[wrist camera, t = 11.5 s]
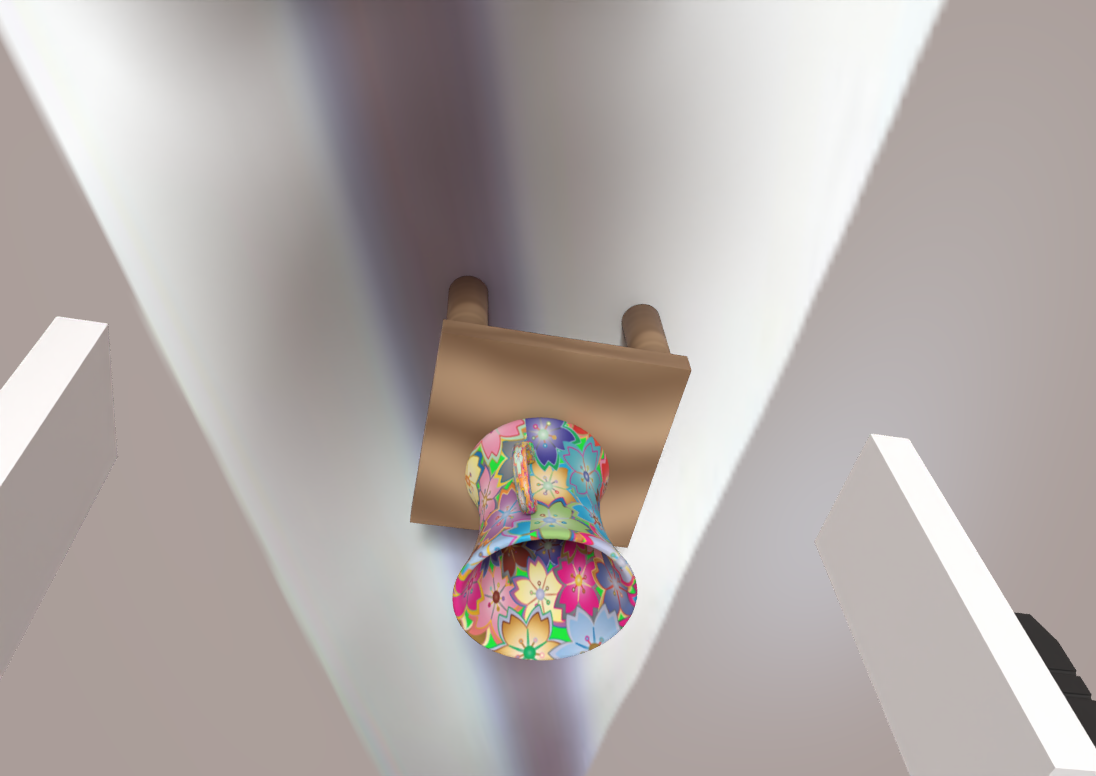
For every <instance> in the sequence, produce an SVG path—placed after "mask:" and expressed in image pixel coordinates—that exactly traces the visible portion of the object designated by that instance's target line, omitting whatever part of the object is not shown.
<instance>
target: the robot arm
mask: <svg viewBox="0 0 1096 776" xmlns="http://www.w3.org/2000/svg"><path fill="white" fill-rule="evenodd" d="M116 459H117V441H116V427H115V413H114V400H113V385H112V373H111V358H110V343H109V329H108V324H106V323H99V322H92V321H86V320H79V319H72V318H65V317H56V318H55V319H54V321H53V322H52V323H51V325H50V326H49V327H48V329H47V330H46V331H45V332H44V334H43V335H42V336H41V338H40V339H39V340H38V342H37V343H36V344H35V346H34V347H33V348H32V349H31V351H30V352H29V353H28V355H27V356H26V358H25V359H24V360H23V361H22V363H21V364H20V365H19V367H18V368H17V369H16V371H15V372H14V373H13V374H12V376H11V377H10V378H9V380H8V381H7V382H6V384H5V385H4V386H3V388H2V389H1V390H0V680H1V678H2V676H3V674H4V672H5V670H6V668H7V666H8V665H9V663H10V661H11V659H12V657H13V655H14V653H15V651H16V649H17V647H18V646H19V644H20V642H21V640H22V638H23V636H24V634H25V632H26V630H27V628H28V626H29V625H30V623H31V621H32V619H33V617H34V615H35V613H36V611H37V609H38V607H39V606H40V604H41V602H42V599H43V598H44V596H45V594H46V592H47V590H48V588H49V586H50V585H51V583H52V581H53V579H54V577H55V575H56V573H57V571H58V569H59V567H60V566H61V564H62V562H63V560H64V558H65V556H66V554H67V552H68V550H69V548H70V546H71V544H72V543H73V541H74V539H75V537H76V535H77V533H78V531H79V529H80V527H81V526H82V523H83V522H84V520H85V518H86V516H87V514H88V512H89V510H90V508H91V506H92V504H93V503H94V500H95V499H96V496H97V495H98V493H99V491H100V489H101V487H102V485H103V483H104V482H105V480H106V478H107V476H108V474H109V472H110V470H111V468H112V466H113V465H114V463H115V461H116ZM815 544H816V547H817V550H818V552H819V554H820V557H821V559H822V562H823V564H824V567H825V569H826V572H827V574H828V577H829V579H830V581H831V584H832V586H833V588H834V591H835V594H836V596H837V599H838V601H839V604H840V606H841V608H842V611H843V613H844V616H845V618H846V620H847V623H848V626H849V628H850V631H851V633H852V635H853V638H854V640H855V643H856V645H857V648H858V650H859V653H860V655H861V658H862V660H863V662H864V665H865V667H866V670H867V672H868V675H869V677H870V679H871V682H872V684H873V687H874V689H875V692H876V694H877V697H878V699H879V702H880V704H881V707H882V709H883V712H884V714H885V716H886V719H887V721H888V724H889V726H890V728H891V731H892V734H893V736H894V738H895V741H896V743H897V746H898V748H899V751H900V753H901V756H902V758H903V760H904V763H905V766H906V768H907V770H908V773H909V775H910V776H1096V701H1094V700H1091V693H1090V692H1089V690H1088V688H1087V687H1086V685H1085V684H1084V682H1083V680H1082V679H1081V677H1079V676H1076V669H1075V668H1074V667H1073V665H1072V663H1071V662H1070V660H1069V658H1068V657H1067V655H1066V654H1065V652H1064V650H1063V649H1062V647H1061V646H1060V644H1059V643H1058V641H1057V640H1056V639H1055V638H1054V637H1053V636H1052V635H1051V634H1050V633H1049V632H1048V631H1046V629H1045V628H1043V627H1042V626H1041V625H1040V624H1039V623H1038V622H1037V621H1036V620H1035V619H1034V618H1033V617H1032V616H1031V615H1030V614H1022V613H1014V612H1013V611H1012V609H1011V607H1010V606H1009V604H1008V602H1007V601H1006V599H1005V597H1004V596H1003V594H1002V593H1001V591H1000V589H999V587H998V586H997V584H996V582H995V581H994V579H993V577H992V576H991V574H990V573H989V571H988V569H987V568H986V566H985V564H984V563H983V561H982V559H981V558H980V556H979V554H978V553H977V551H976V550H975V548H974V546H973V544H972V543H971V541H970V539H969V538H968V536H967V535H966V533H965V531H964V529H963V528H962V526H961V524H960V523H959V521H958V520H957V518H956V516H955V515H954V513H953V511H952V510H951V508H950V506H949V505H948V503H947V501H946V500H945V498H944V496H943V495H942V493H941V491H940V490H939V488H938V487H937V485H936V483H935V482H934V480H933V478H932V477H931V475H930V473H929V472H928V470H927V468H926V467H925V465H924V463H923V462H922V460H921V458H920V457H919V455H918V453H917V452H916V450H915V449H914V447H913V445H912V443H911V442H910V440H909V439H905V438H898V437H891V436H883V435H877V434H870V435H869V437H868V439H867V441H866V443H865V445H864V447H863V449H862V451H861V453H860V454H859V456H858V458H857V461H856V462H855V464H854V466H853V468H852V470H851V472H850V474H849V476H848V478H847V480H846V482H845V483H844V486H843V487H842V489H841V491H840V493H839V495H838V497H837V499H836V501H835V503H834V505H833V507H832V509H831V511H830V512H829V514H828V517H827V518H826V520H825V522H824V524H823V526H822V528H821V530H820V532H819V534H818V536H817V538H816V540H815Z"/></svg>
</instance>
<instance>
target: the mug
mask: <svg viewBox="0 0 1096 776" xmlns="http://www.w3.org/2000/svg"><path fill="white" fill-rule="evenodd" d="M608 480H609V464H608V460H607V457H606V454H605V452H604V450H603V449H602V447H601V446H600V444H599V443H598V442H597V440H596V439H595V438H594V437H593V436H592V435H590V434H589V433H588V432H587V431H585V430H583V429H582V428H580V427H578V426H576V425H574V424H572V423H569V422H566V421H563V420H558V419H554V418H543V417H536V418H525V419H520V420H516V421H513V422H510V423H507V424H504V425H502V426H500V427H498V428H496V429H495V430H493V431H491V432H490V433H489V434H487V435H486V436H485V437H484V438H483V439H481V441H480V442H479V443H478V444H477V445H476V446H475V448H474V449H473V451H472V453H471V454H470V457H469V459H468V462H467V465H466V470H465V483H466V487H467V490H468V493H469V495H470V497H471V499H472V501H473V502H474V504H475V505H476V506H477V508H478V511H479V517H480V527H479V534H478V538H477V542H476V545H475V547H474V550H473V552H472V554H471V556H470V558H469V559H468V561H467V562H466V564H465V565H464V567H463V568H462V570H461V571H460V573H459V575H458V577H457V579H456V582H455V585H454V589H453V608H454V612H455V615H456V617H457V620H458V621H459V623H460V625H461V626H462V628H463V629H464V630H465V632H466V633H467V634H468V635H469V636H470V637H471V638H473V639H474V640H475V641H476V642H478V643H479V644H481V645H482V646H484V647H486V648H488V649H490V650H492V651H494V652H497V653H500V654H502V655H506V656H509V657H514V658H519V659H526V660H554V659H561V658H567V657H571V656H575V655H578V654H581V653H584V652H587V651H589V650H592V649H594V648H596V647H598V646H600V645H601V644H603V643H605V642H606V641H608V640H609V639H611V638H612V637H613V636H614V635H616V634H617V633H618V632H619V631H620V630H621V629H622V628H623V627H624V625H625V624H626V623H627V621H628V620H629V618H630V617H631V615H632V613H633V610H634V607H635V604H636V600H637V584H636V580H635V576H634V574H633V571H632V569H631V568H630V566H629V564H628V563H627V562H626V560H625V559H624V558H623V557H622V556H621V554H620V553H619V552H618V551H617V550H616V549H615V547H614V546H613V545H612V543H611V542H610V540H609V538H608V536H607V534H606V532H605V530H604V527H603V524H602V521H601V516H600V500H601V498H602V496H603V495H604V493H605V490H606V488H607V484H608Z"/></svg>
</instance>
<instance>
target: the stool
mask: <svg viewBox="0 0 1096 776" xmlns="http://www.w3.org/2000/svg"><path fill="white" fill-rule="evenodd" d="M622 326H623V331H624V335H625V339H626V344H627V347H622V346H616V345H609V344H603V343H596V342H589V341H583V340H576V339H570V338H563V337H557V336H550V335H544V334H537V333H531V332H524V331H518V330H511V329H505V328H498V327H492V326H488V290H487V287H486V285H485V284H484V283H483V282H482V281H481V280H480V279H478V278H476V277H473V276H463V277H460V278H458V279H456V280H455V281H454V282H453V283H452V284H451V286H450V288H449V295H448V308H447V320H446V319H443V324H442V330H441V336H440V342H439V348H438V354H437V360H436V366H435V372H434V377H433V383H432V389H431V395H430V401H429V407H428V413H427V419H426V425H425V431H424V437H423V442H422V448H421V454H420V460H419V466H418V472H417V478H416V484H415V490H414V496H413V502H412V508H411V518H410V522H412V523H421V524H429V525H438V526H446V527H455V528H463V529H472V530H479V527H480V517H479V511H478V508H477V506H476V505H475V504H474V502H473V501H472V499H471V497H470V495H469V493H468V490H467V487H466V483H465V470H466V465H467V462H468V459H469V457H470V454H471V453H472V451H473V449H474V448H475V446H476V445H477V444H478V443H479V442H480V441H481V439H483V438H484V437H485V436H486V435H487V434H489V433H490V432H491V431H493V430H495V429H496V428H498V427H500V426H502V425H504V424H507V423H510V422H513V421H516V420H520V419H525V418H536V417H543V418H554V419H558V420H563V421H566V422H569V423H572V424H574V425H576V426H578V427H580V428H582V429H583V430H585V431H587V432H588V433H589V434H590V435H592V436H593V437H594V438H595V439H596V440H597V442H598V443H599V444H600V446H601V447H602V449H603V450H604V452H605V454H606V457H607V460H608V464H609V480H608V484H607V488H606V490H605V493H604V495H603V496H602V498H601V500H600V516H601V521H602V524H603V527H604V530H605V532H606V534H607V536H608V538H609V540H610V542H611V543H612V545H613V546H618V547H626V548H628V545H629V542H630V539H631V537H632V534H633V531H634V528H635V525H636V523H637V520H638V517H639V514H640V512H641V509H642V506H643V503H644V500H645V498H646V495H647V492H648V489H649V487H650V484H651V481H652V478H653V475H654V473H655V470H656V467H657V464H658V462H659V459H660V456H661V453H662V450H663V448H664V445H665V442H666V439H667V437H668V434H669V431H670V428H671V425H672V423H673V420H674V417H675V414H676V412H677V409H678V406H679V403H680V400H681V398H682V395H683V392H684V389H685V387H686V384H687V381H688V378H689V375H690V373H691V367H690V364H689V361H688V358H687V356H681V355H674V354H670V350H669V347H668V343H667V340H666V337H665V333H664V330H663V327H662V323H661V320H660V316H659V314H658V312H657V310H656V309H655V308H653V307H652V306H650V305H646V304H639V305H635V306H633V307H631V308H629V309H628V310H627V311H626V312H625V314H624V315H623V318H622Z"/></svg>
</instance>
